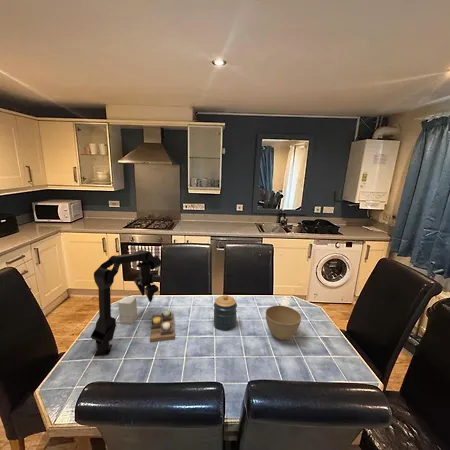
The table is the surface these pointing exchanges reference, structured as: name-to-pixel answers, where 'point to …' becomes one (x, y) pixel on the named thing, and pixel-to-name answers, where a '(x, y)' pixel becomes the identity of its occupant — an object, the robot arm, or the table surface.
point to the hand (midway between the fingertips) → (146, 298)
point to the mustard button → (156, 320)
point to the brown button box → (158, 331)
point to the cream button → (166, 326)
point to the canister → (225, 313)
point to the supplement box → (127, 310)
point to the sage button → (166, 313)
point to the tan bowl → (282, 321)
